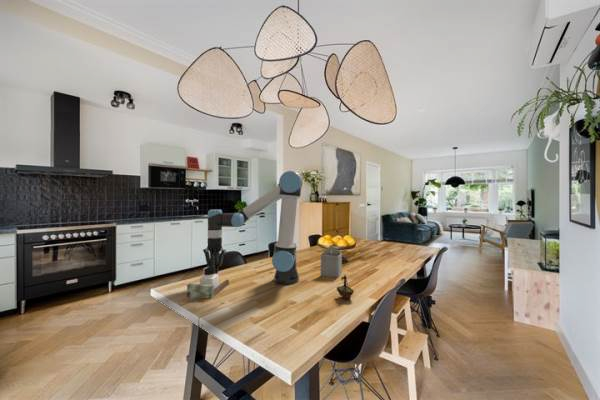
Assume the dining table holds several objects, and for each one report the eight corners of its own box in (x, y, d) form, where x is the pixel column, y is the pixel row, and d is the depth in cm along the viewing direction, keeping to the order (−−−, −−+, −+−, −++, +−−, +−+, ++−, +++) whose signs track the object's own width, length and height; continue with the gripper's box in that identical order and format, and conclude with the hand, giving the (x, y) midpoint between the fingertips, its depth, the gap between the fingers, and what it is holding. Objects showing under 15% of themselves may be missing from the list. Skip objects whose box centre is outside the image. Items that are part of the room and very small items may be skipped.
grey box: (327, 279, 147) (327, 248, 147) (320, 275, 154) (320, 245, 154) (348, 276, 154) (348, 246, 154) (341, 272, 161) (341, 243, 161)
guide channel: (228, 284, 137) (228, 273, 137) (211, 298, 118) (211, 286, 118) (207, 282, 139) (207, 272, 139) (187, 296, 119) (187, 284, 119)
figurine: (357, 301, 116) (357, 276, 116) (342, 303, 114) (342, 278, 114) (347, 293, 126) (347, 270, 126) (333, 295, 123) (333, 271, 123)
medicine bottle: (218, 287, 132) (218, 265, 132) (212, 292, 125) (212, 269, 125) (206, 286, 133) (206, 265, 133) (199, 291, 126) (199, 268, 126)
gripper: (228, 236, 137) (228, 277, 137) (207, 235, 139) (207, 276, 139) (222, 238, 129) (222, 282, 129) (200, 237, 131) (199, 280, 131)
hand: (214, 278), depth 134 cm, fingers closed
